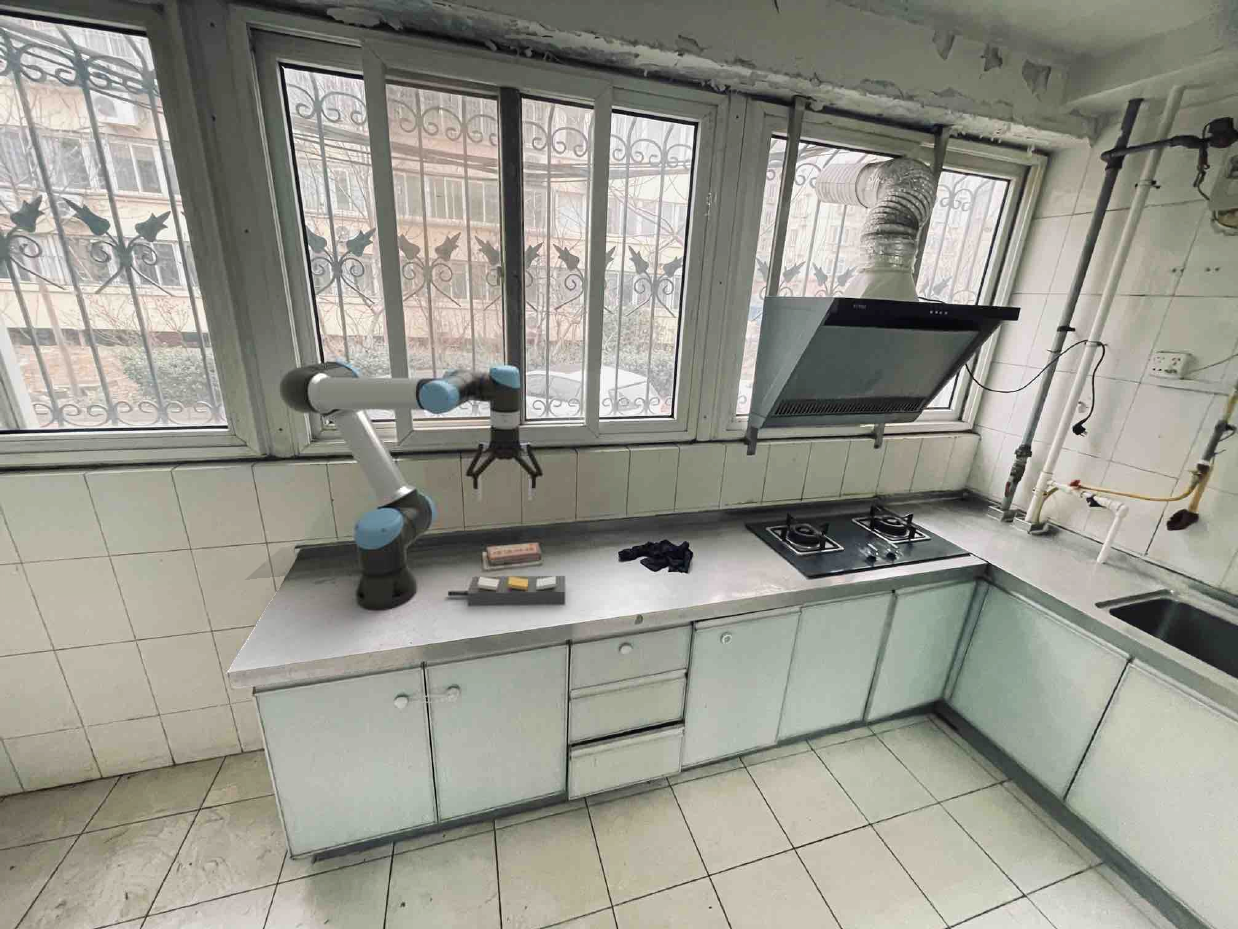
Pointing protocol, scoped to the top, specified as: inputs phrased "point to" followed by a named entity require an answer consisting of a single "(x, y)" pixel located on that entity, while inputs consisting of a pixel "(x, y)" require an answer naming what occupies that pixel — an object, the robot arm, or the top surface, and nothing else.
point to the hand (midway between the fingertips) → (505, 499)
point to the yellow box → (518, 583)
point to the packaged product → (511, 556)
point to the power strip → (514, 592)
